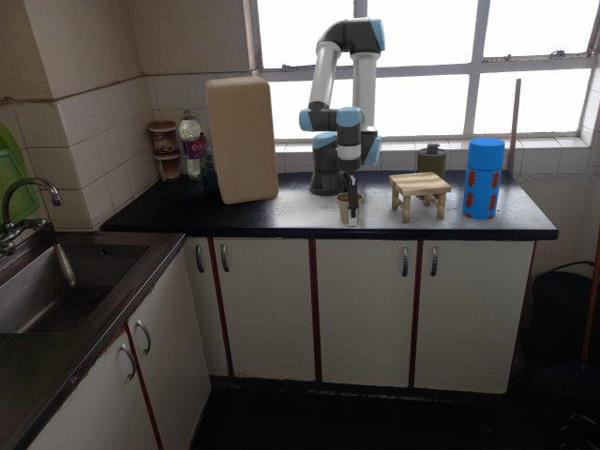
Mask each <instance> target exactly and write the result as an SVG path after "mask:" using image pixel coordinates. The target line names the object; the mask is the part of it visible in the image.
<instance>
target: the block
mask: <svg viewBox="0 0 600 450" xmlns="http://www.w3.org/2000/svg"><path fill="white" fill-rule="evenodd" d="M204 83H205V84H204V92H205V99H206V106H207V113H208V119H209V127H210V133H211V134H210V135H211V139H212V147H213V154H214V160H215V162H214V163H215V168H216V174H217V176H216V177H217V182H218V187H219V191H220V195H221V196H220V197H221V199H222V201H223V203H224V204H227V205H234V204H241V203H247V202H252V201H253V202H254V201H260V200H267V199H268V200H269V199H274V198H277V197H278V196H279V192H280V190H279V179H278V177H279V176H278V166H277V164H278V163H277V155H276V153H277V152H276V141H275V131H274V130H275V129H274V119H273V107H272V106H273V104H272V96H271V95H272V94H271V86H270V84H269V82H268V81H267V80H265V79H263V78H262V77H260V76H256V75H252V76H250V75H249V76H242V77H241V76H240V77H239V76H238V77H228V78H219V79H218V78H217V79H208V80H207V81H205V82H204Z"/></svg>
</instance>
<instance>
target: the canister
mask: <svg viewBox="0 0 600 450" xmlns="http://www.w3.org/2000/svg"><path fill="white" fill-rule="evenodd" d="M440 147H441V145H440V144H439V143H431V142H430V143H427V146H426V147H425V148H424V147H423V148H420V149H418V150H416V152H415V162H414V163H415V165H414V173H424V172H434V173H435V174H436V175H437V176H439V177H440V178H441V179H442V180H444V181H445V174H446V172H445V171H446V165H447V164H446V163H447V154H448V151H447V150H445V149H443V148H440ZM431 195H432V196H434V197H435V198H436V199H437V200H438V194H431ZM415 197H416V198H417V199H419V200H421V201H424V195H418V196H415Z"/></svg>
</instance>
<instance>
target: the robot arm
mask: <svg viewBox="0 0 600 450" xmlns="http://www.w3.org/2000/svg"><path fill="white" fill-rule="evenodd" d="M384 29H385V28H384V23H383V19H382V18H381V17H379V16H376V17H374V16H372V17H371V16H365V17H354V18H340V19H337V20H334V21H333V22H332V23H330V24H329V25H328V26H327V27H326V28H325V29H324V30H323V32H322V33H321V35H320V36H319V38H318V40H317V43H316V46H315V55H316V56H317V57H316V62H315V68H314V71H313V72H314V73H313V77H312V78H313V79H312V83H311V89H310V94H309V99H308V104H307V108H304V109H301V110H300V112H299V114H298V126H299V128H300V130H301V131H303V132H309V133H310V132H311V133H314V132H315V133H316V132H320V133H318V134H316V135H314V137H312V147H311V149H312V150H311V151H312V165H313V169H312V170H313V172H312V173H313V174H312V176H311V180H310V183H309V190H310V192H311V193H312V194H315V195H318V196H337V195H338V194H341V193H345V192H348V199H349V207H347V209H348V214H349V223H348V226H349V227H354V226H356V227H357V226H358V221H357V209H358V208H359V205H358V193H359V191H358V178H357V174H356V173H355V172H356V171H358V170H359V169H361V167H371V166H372V167H373V166H375V165H377V163H378V161H379V157H380V153H381V147H382V136H381V135H379V132H378V129H377V128H376V127H375V107H376V105H375V104H376V89H377V88H376V87H377V86H376V84H377V81H376V80H377V62H378V60H379V59H380V58H381V57H382V52H384V51H386V37H385V30H384ZM343 53H349V58H350V59H351V60H352V62H353V68H352V70H353V72H352V74H353V75H352V101H351V102H352V104H351V105H352V106H345V107H340V108H331V101H332V95H333V91H334V90H333V89H334V84H335V77H336V70H337V65H338V60H339V59H340V58H341V56H342V54H343Z"/></svg>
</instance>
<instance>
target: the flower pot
mask: <svg viewBox="0 0 600 450" xmlns="http://www.w3.org/2000/svg"><path fill="white" fill-rule="evenodd" d="M335 200H336V202H337V204H338V210H339V216H340V217H339V218H340V220H341V222H343V223H345V224H349V214H348V209H347V207H349V199H348V192H345V193H340V194H337V195H335ZM363 200H364V195H363V194H362V193H359V192H358V205H359V208H358V209H357V222H358V221H360V213H361V206H362V203H363Z"/></svg>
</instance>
